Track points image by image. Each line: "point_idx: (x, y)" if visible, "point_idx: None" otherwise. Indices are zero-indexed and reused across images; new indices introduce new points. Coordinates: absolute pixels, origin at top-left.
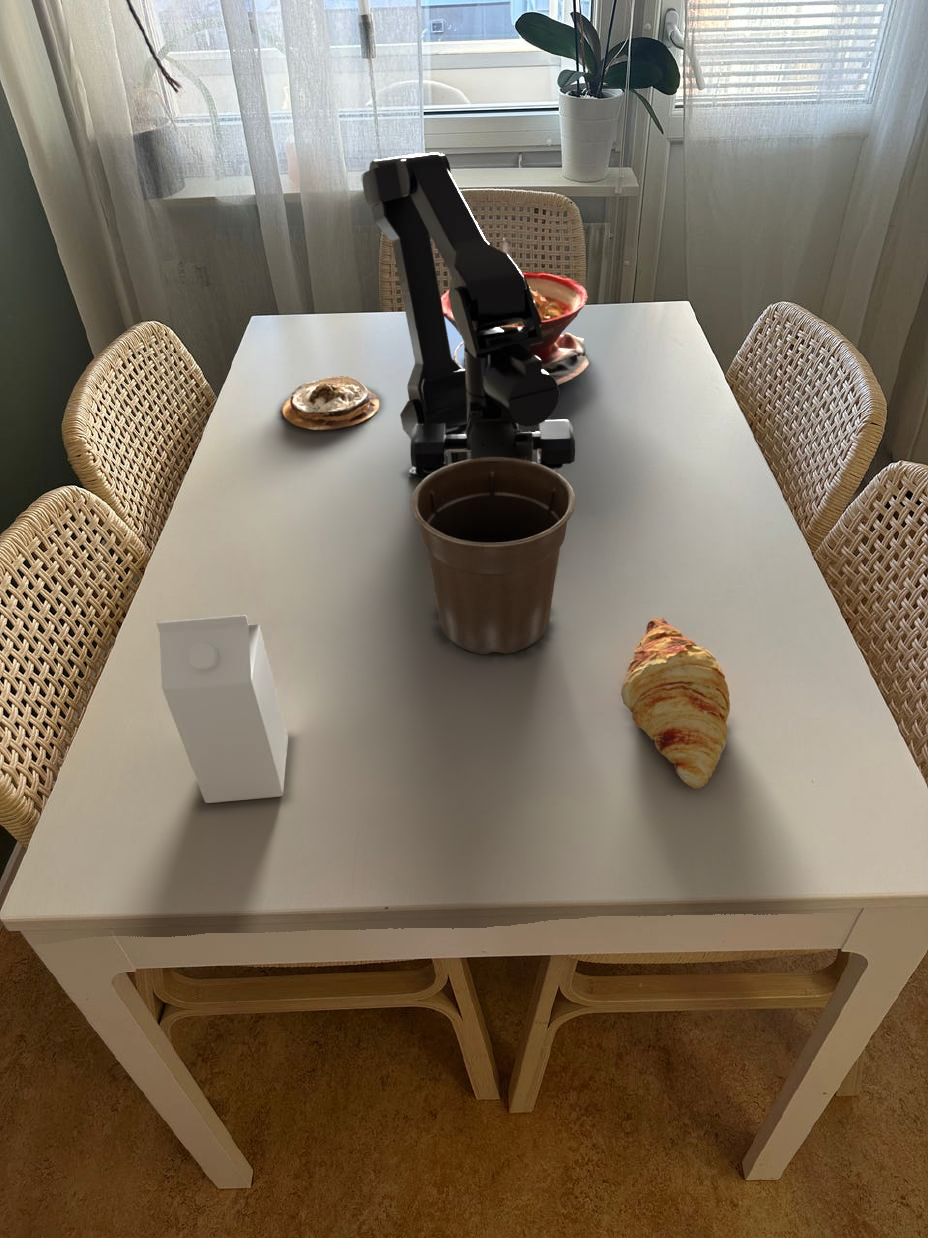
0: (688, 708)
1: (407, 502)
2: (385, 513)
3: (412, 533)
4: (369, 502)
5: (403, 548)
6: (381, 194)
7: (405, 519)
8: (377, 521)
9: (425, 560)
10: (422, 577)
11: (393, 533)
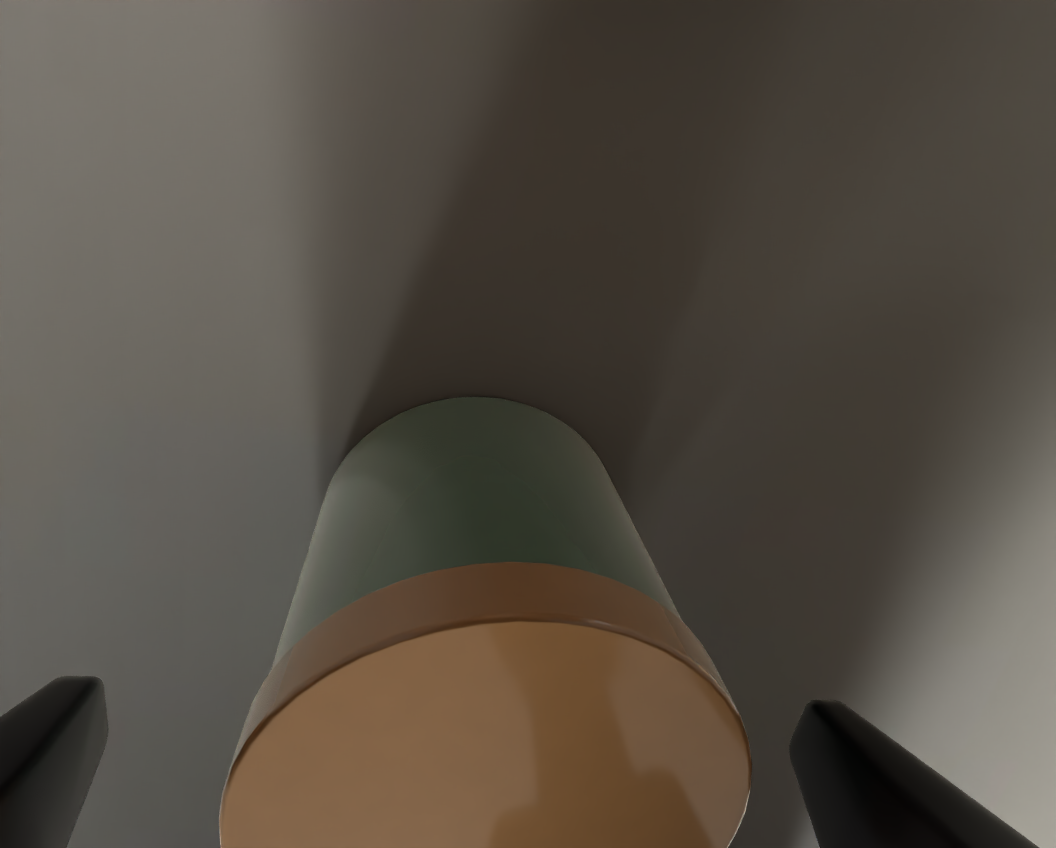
0: None
1: None
2: (973, 742)
3: (918, 590)
4: (1002, 812)
5: (1017, 471)
6: None
7: (905, 697)
8: (1033, 692)
9: (953, 336)
10: (1046, 148)
11: (1007, 600)
